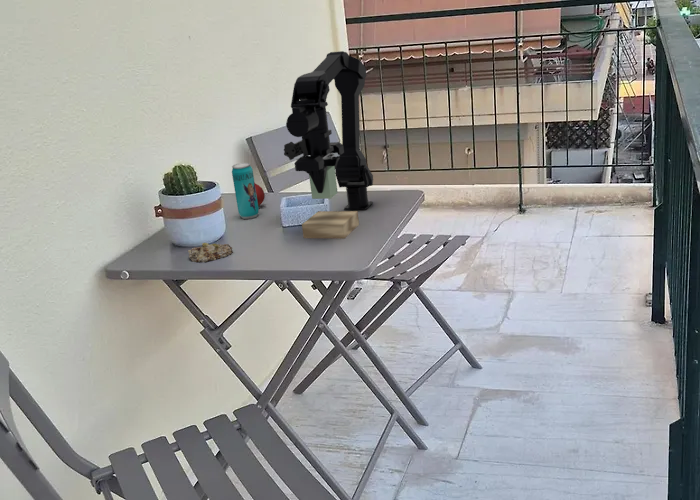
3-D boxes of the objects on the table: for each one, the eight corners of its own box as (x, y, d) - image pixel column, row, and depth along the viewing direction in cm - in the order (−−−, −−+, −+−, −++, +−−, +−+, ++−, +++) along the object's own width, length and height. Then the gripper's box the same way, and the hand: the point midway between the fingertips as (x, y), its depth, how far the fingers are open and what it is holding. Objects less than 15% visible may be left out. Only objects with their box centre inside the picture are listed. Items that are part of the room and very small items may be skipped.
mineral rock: (186, 257, 178) (186, 239, 185) (189, 272, 180) (189, 253, 187) (232, 252, 179) (231, 234, 186) (234, 267, 182) (233, 248, 188)
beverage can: (249, 220, 209) (241, 168, 204) (235, 218, 213) (226, 166, 208) (263, 214, 214) (255, 162, 209) (249, 212, 217) (241, 161, 212)
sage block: (319, 193, 192) (315, 166, 190) (337, 192, 190) (334, 165, 188) (312, 198, 188) (308, 171, 185) (330, 198, 186) (327, 171, 184)
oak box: (320, 225, 199) (318, 211, 198) (359, 225, 195) (357, 211, 194) (303, 239, 189) (301, 224, 188) (344, 239, 185) (342, 224, 184)
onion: (249, 205, 225) (245, 179, 222) (268, 204, 224) (264, 177, 221) (244, 210, 220) (240, 184, 217) (263, 209, 219) (259, 183, 216)
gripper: (300, 122, 194) (308, 180, 199) (270, 137, 178) (279, 201, 183) (341, 120, 191) (348, 179, 196) (314, 135, 174) (322, 200, 179)
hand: (324, 189), depth 189 cm, fingers closed on sage block, 5 cm apart
